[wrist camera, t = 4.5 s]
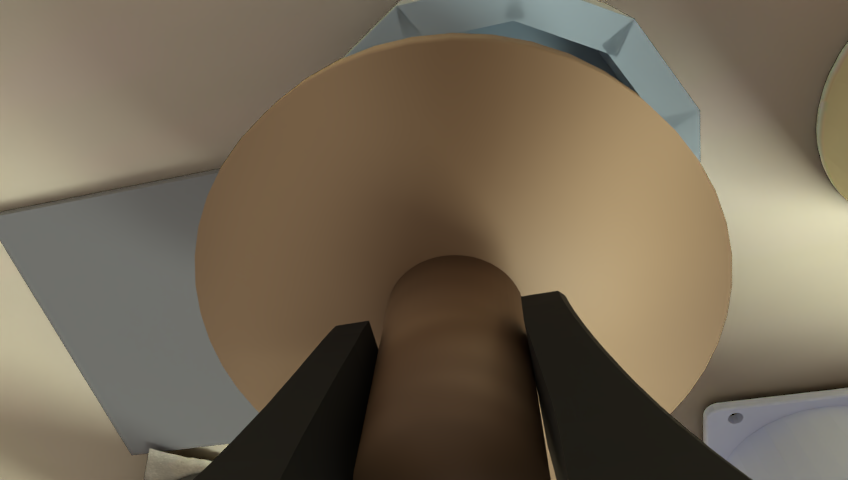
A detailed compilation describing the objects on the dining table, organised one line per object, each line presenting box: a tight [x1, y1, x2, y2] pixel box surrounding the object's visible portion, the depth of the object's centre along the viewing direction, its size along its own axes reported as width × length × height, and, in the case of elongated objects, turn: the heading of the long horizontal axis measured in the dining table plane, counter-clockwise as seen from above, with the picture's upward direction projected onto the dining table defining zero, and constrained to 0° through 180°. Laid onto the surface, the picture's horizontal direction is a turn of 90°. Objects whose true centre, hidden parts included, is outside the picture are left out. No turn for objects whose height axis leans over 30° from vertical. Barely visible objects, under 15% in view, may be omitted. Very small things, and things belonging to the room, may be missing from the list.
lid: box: [195, 33, 732, 480], centre depth 10 cm, size 10×10×5 cm
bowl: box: [343, 0, 700, 162], centre depth 16 cm, size 10×10×4 cm
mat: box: [0, 169, 259, 455], centre depth 21 cm, size 11×11×1 cm
